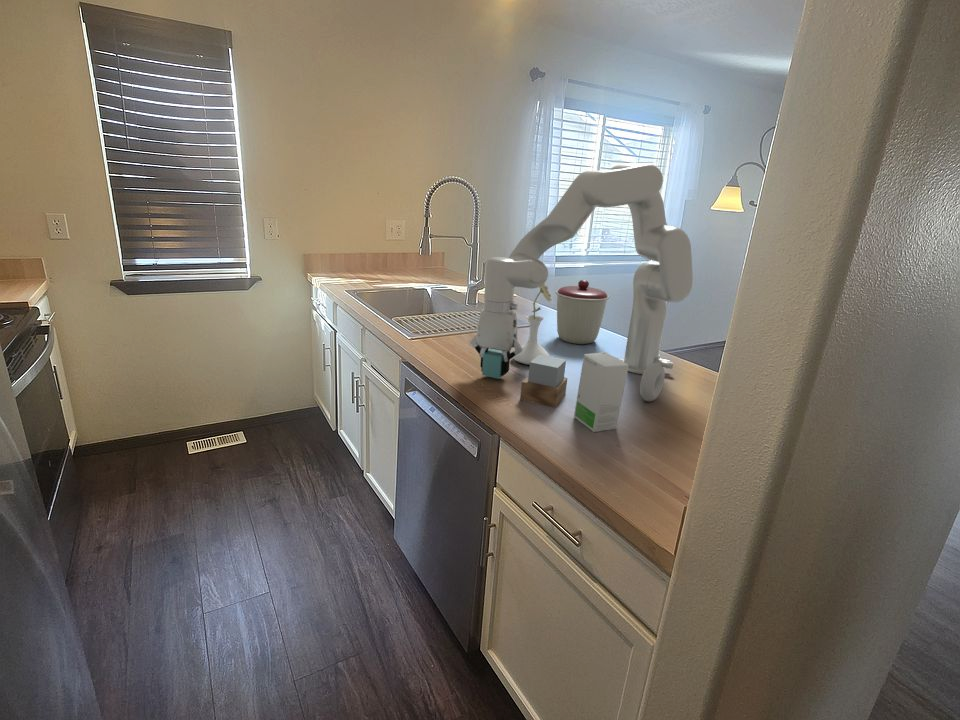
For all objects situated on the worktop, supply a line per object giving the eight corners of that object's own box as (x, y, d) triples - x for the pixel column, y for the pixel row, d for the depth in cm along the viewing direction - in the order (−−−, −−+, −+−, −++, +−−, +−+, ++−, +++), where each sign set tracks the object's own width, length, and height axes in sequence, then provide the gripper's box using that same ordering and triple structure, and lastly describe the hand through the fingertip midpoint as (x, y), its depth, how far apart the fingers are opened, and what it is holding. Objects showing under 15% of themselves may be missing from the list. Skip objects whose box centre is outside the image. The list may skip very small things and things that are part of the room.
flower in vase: (548, 370, 149) (557, 284, 141) (509, 365, 151) (516, 280, 142) (551, 356, 161) (560, 276, 153) (515, 352, 163) (522, 273, 155)
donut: (650, 393, 136) (656, 357, 133) (662, 397, 134) (669, 360, 131) (634, 403, 129) (640, 366, 126) (647, 408, 127) (654, 369, 124)
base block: (565, 396, 132) (567, 377, 130) (555, 408, 124) (557, 389, 122) (531, 389, 135) (533, 371, 133) (520, 400, 127) (521, 381, 126)
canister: (539, 336, 182) (545, 276, 175) (575, 330, 192) (582, 274, 186) (577, 351, 168) (585, 286, 162) (613, 343, 179) (622, 283, 172)
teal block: (506, 373, 141) (507, 352, 139) (499, 378, 136) (500, 357, 134) (489, 369, 143) (490, 349, 141) (482, 375, 138) (483, 353, 136)
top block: (563, 378, 129) (566, 359, 128) (555, 387, 123) (557, 367, 122) (537, 373, 132) (539, 354, 131) (527, 381, 126) (529, 362, 124)
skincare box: (573, 417, 119) (581, 353, 114) (596, 414, 122) (605, 351, 117) (594, 433, 112) (604, 365, 107) (619, 429, 115) (630, 363, 110)
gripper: (534, 308, 133) (528, 374, 139) (474, 299, 140) (471, 362, 146) (524, 314, 127) (519, 382, 133) (462, 304, 133) (459, 370, 139)
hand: (494, 371), depth 139 cm, fingers closed on teal block, 5 cm apart
